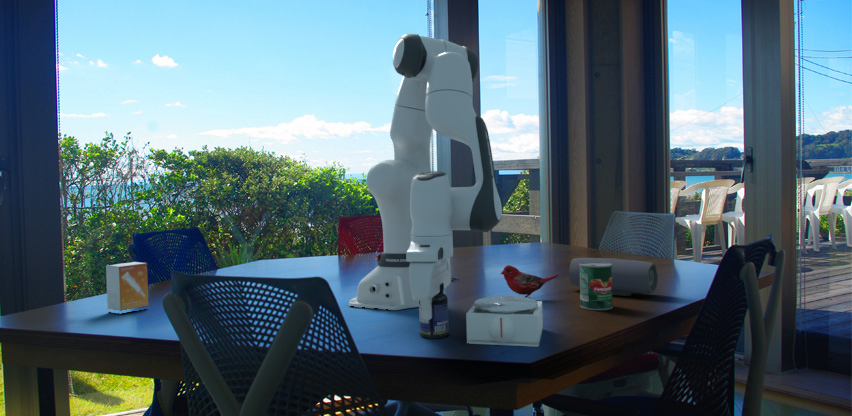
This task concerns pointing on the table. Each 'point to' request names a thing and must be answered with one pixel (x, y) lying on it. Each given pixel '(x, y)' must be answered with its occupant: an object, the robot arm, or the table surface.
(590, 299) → the canned tomato
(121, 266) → the small box
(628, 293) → the bluetooth speaker
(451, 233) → the robot arm
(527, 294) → the decorative bird figurine
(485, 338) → the scale housing
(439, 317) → the pill bottle
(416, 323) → the table surface
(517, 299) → the scale pan
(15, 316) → the table surface
